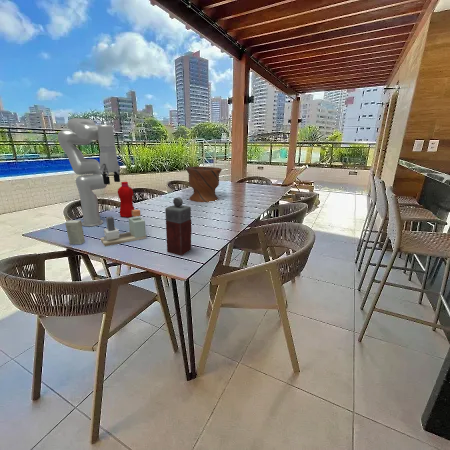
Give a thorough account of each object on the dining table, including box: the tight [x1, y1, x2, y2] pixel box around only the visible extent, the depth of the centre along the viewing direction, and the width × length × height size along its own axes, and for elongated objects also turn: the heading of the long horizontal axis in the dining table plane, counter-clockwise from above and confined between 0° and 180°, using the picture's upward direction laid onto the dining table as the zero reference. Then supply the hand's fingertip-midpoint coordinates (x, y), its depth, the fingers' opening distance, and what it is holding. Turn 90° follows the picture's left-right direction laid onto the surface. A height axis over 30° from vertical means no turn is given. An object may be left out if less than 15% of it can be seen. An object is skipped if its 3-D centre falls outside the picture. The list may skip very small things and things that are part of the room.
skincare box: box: [64, 219, 86, 245], centre depth 131 cm, size 6×4×12 cm
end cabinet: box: [128, 216, 147, 238], centre depth 142 cm, size 10×6×9 cm, turn 37°
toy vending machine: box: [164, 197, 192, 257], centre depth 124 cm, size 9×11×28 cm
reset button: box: [132, 209, 141, 217], centre depth 140 cm, size 4×4×3 cm
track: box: [99, 231, 147, 247], centre depth 139 cm, size 10×22×4 cm, turn 127°
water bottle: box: [117, 181, 136, 219], centre depth 177 cm, size 9×11×25 cm
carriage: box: [103, 216, 120, 240], centre depth 134 cm, size 7×6×12 cm
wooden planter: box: [185, 166, 223, 203], centre depth 239 cm, size 34×35×29 cm
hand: (112, 183), depth 134 cm, fingers open, 9 cm apart
